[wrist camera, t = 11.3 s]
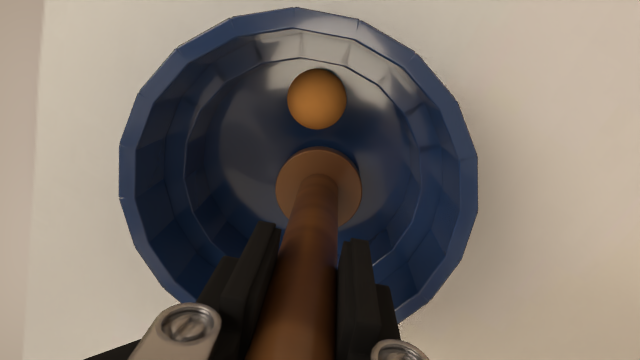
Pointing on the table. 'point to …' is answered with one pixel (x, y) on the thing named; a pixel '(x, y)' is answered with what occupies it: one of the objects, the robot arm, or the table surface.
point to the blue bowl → (290, 137)
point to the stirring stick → (307, 257)
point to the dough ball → (316, 99)
